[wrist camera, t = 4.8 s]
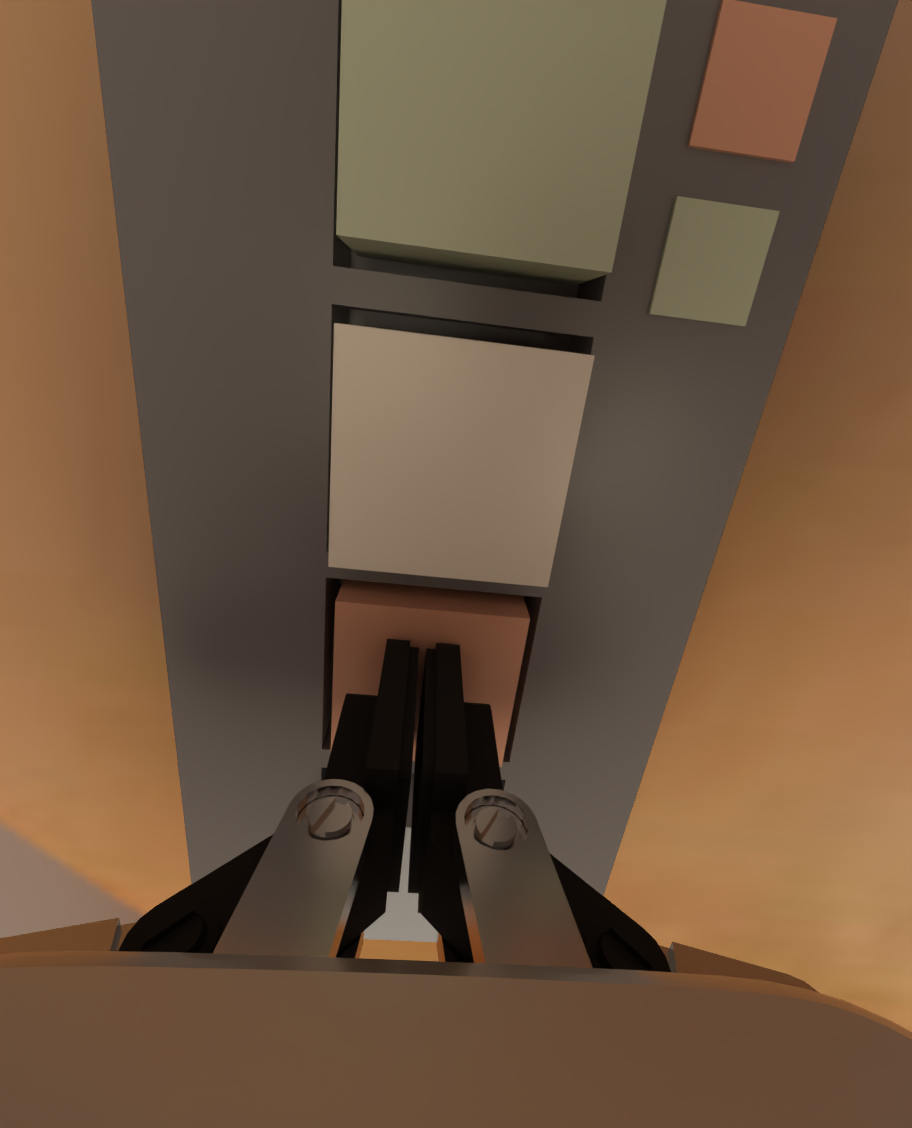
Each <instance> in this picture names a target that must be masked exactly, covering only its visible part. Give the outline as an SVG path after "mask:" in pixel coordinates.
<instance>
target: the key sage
mask: <svg viewBox="0 0 912 1128" xmlns="http://www.w3.org/2000/svg"><path fill="white" fill-rule="evenodd" d="M666 1H667V0H342V15H341V57H340V99H339V140H338V182H337V223H336V235H337V236H338V237H339V238H340V239H341V240H342V241H343V242H344V243H345V244H346V245H347V246H349V247H350V248H351V249H352V250H353V251H354V252H355V253H356V254H357V255H358V256H361V257H368V258H376V259H383V260H390V261H398V262H405V263H413V264H420V265H428V266H435V267H443V268H450V269H457V270H465V271H472V272H480V273H487V274H495V275H502V276H510V277H517V278H524V279H532V280H539V281H547V282H554V283H562V284H569V285H578V284H581V283H583V282H586V281H589V280H592V279H595V278H598V277H600V276H603V275H606V274H609V273H612V268H613V263H614V258H615V253H616V248H617V243H618V238H619V234H620V229H621V224H622V219H623V214H624V209H625V204H626V199H627V194H628V189H629V184H630V179H631V174H632V169H633V164H634V159H635V155H636V150H637V145H638V140H639V135H640V130H641V125H642V120H643V115H644V110H645V105H646V100H647V95H648V90H649V85H650V80H651V75H652V71H653V66H654V61H655V56H656V51H657V46H658V41H659V36H660V31H661V26H662V21H663V16H664V11H665V6H666Z"/></svg>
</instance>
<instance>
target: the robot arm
mask: <svg viewBox="0 0 912 1128" xmlns="http://www.w3.org/2000/svg"><path fill="white" fill-rule="evenodd" d="M418 660H419V648H418V647H410V641H409V640H397V639H387V642H386V648H385V654H384V660H383V666H382V672H381V678H380V684H379V690H378V696H376V695H363V694H350V693H347V694H346V696H345V699H344V702H343V706H342V710H341V714H340V718H339V722H338V726H337V730H336V734H335V737H334V741H333V745H332V749H331V753H330V757H329V761H328V765H327V769H326V773H325V776H324V780H322V781H318V782H315V783H313V784H311V785H308V786H306V787H305V788H304V789H302V790H301V791H300V792H298V793H297V794H296V795H295V797H294V798H293V799H292V801H291V802H290V803H289V805H288V807H287V809H286V811H285V813H284V815H283V817H282V819H281V821H280V823H279V825H278V827H277V829H276V831H275V832H274V834H273V835H271V836H269V837H268V838H266V839H264V840H263V841H261V842H260V843H258V844H256V845H255V846H253V847H251V848H250V849H248V850H247V851H245V852H243V853H242V854H240V855H238V856H237V857H235V858H233V859H232V860H230V861H229V862H227V863H225V864H224V865H222V866H220V867H219V868H217V869H216V870H214V871H212V872H211V873H209V874H207V875H206V876H204V877H203V878H201V879H199V880H198V881H196V882H194V883H193V884H191V885H190V886H188V887H186V888H185V889H183V890H181V891H180V892H178V893H177V894H175V895H173V896H172V897H170V898H168V899H167V900H165V901H164V902H162V903H160V904H159V905H157V906H155V907H154V908H153V909H152V910H150V911H149V912H148V913H146V914H145V915H144V916H142V917H141V918H140V919H139V920H138V921H137V922H136V923H130V924H124V925H120V920H119V918H115V919H109V920H103V921H98V922H92V923H86V924H80V925H74V926H69V927H63V928H57V929H51V930H46V931H40V932H34V933H28V934H22V935H17V936H12V937H5V938H0V1128H912V1032H910V1031H909V1030H907V1029H905V1028H903V1027H901V1026H899V1025H897V1024H896V1023H894V1022H892V1021H890V1020H888V1019H886V1018H884V1017H882V1016H879V1015H877V1014H875V1013H872V1012H870V1011H868V1010H865V1009H863V1008H861V1007H858V1006H856V1005H854V1004H851V1003H849V1002H847V1001H844V1000H841V999H838V998H834V997H831V996H828V995H824V994H821V993H819V992H818V991H816V990H815V989H814V988H812V987H811V986H810V985H809V984H807V983H806V982H804V981H802V980H800V979H797V978H795V977H793V976H791V975H789V974H785V973H782V972H778V971H775V970H771V969H767V968H764V967H760V966H757V965H753V964H750V963H746V962H743V961H739V960H736V959H732V958H728V957H725V956H721V955H718V954H714V953H711V952H707V951H704V950H700V949H697V948H693V947H689V946H686V945H682V944H679V943H675V942H672V944H671V946H670V948H666V947H663V946H659V945H658V943H657V942H656V940H655V939H654V938H653V937H652V936H651V935H650V934H649V933H648V932H647V931H646V930H645V929H643V928H642V927H641V926H640V925H639V924H637V923H636V922H635V921H634V920H632V919H631V918H630V917H629V916H627V915H626V914H625V913H624V912H622V911H621V910H620V909H619V908H617V907H616V906H615V905H614V904H612V903H611V902H610V901H609V900H607V899H606V898H605V897H604V896H602V895H601V894H600V893H599V892H598V891H596V890H595V889H594V888H593V887H591V886H590V885H589V884H588V883H586V882H585V881H584V880H583V879H581V878H580V877H579V876H578V875H576V874H575V873H574V872H573V871H571V870H570V869H569V868H568V867H566V866H565V865H564V864H563V863H561V862H560V861H559V860H558V859H556V858H555V857H554V856H553V855H551V854H550V853H549V851H548V848H547V845H546V843H545V840H544V837H543V835H542V832H541V829H540V827H539V824H538V822H537V819H536V817H535V815H534V813H533V812H532V810H531V808H530V807H529V806H528V805H527V804H526V803H525V802H524V801H523V800H522V799H520V798H518V797H517V796H515V795H513V794H511V793H509V792H505V791H503V787H502V780H501V773H500V766H499V759H498V752H497V745H496V738H495V731H494V724H493V717H492V710H491V706H490V704H483V703H469V702H464V696H463V682H462V668H461V654H460V645H457V644H445V643H436V647H435V649H430V648H427V649H426V657H425V666H424V675H423V684H422V693H421V703H420V712H419V721H418V730H417V739H416V750H415V766H414V785H413V803H412V822H411V840H410V859H409V877H408V893H418V913H421V915H422V916H423V917H424V918H425V919H426V920H427V921H428V922H429V923H430V924H431V925H432V926H433V927H434V929H435V930H436V931H437V952H438V959H439V962H436V961H411V960H385V959H359V956H360V953H361V949H362V945H363V940H364V931H365V930H366V929H367V928H368V927H369V926H370V925H371V924H373V923H374V922H375V921H376V920H377V919H378V918H380V917H381V916H382V915H383V914H384V913H385V912H386V901H387V892H399V886H400V876H401V867H402V858H403V849H404V839H405V830H406V821H407V812H408V802H409V793H410V784H411V773H412V760H413V744H414V727H415V711H416V694H417V677H418Z"/></svg>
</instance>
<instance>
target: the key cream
mask: <svg viewBox="0 0 912 1128" xmlns="http://www.w3.org/2000/svg"><path fill="white" fill-rule="evenodd" d="M594 357H595V356H594V355H587V354H580V353H573V352H566V351H559V350H551V349H543V348H535V347H527V346H519V345H511V344H503V343H495V342H487V341H479V340H471V339H463V338H455V337H447V336H439V335H431V334H423V333H415V332H407V331H399V330H391V329H383V328H375V327H367V326H359V325H350V324H340V323H334V348H333V390H332V431H331V473H330V515H329V556H328V567H336V568H347V569H358V570H368V571H379V572H390V573H400V574H411V575H422V576H432V577H443V578H454V579H464V580H475V581H486V582H496V583H507V584H518V585H528V586H539V587H548V584H549V579H550V574H551V569H552V565H553V560H554V555H555V550H556V545H557V540H558V535H559V530H560V525H561V520H562V515H563V510H564V505H565V500H566V495H567V490H568V485H569V481H570V476H571V471H572V466H573V461H574V456H575V451H576V446H577V441H578V436H579V431H580V426H581V421H582V416H583V411H584V406H585V402H586V397H587V392H588V387H589V382H590V377H591V372H592V367H593V362H594Z"/></svg>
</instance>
